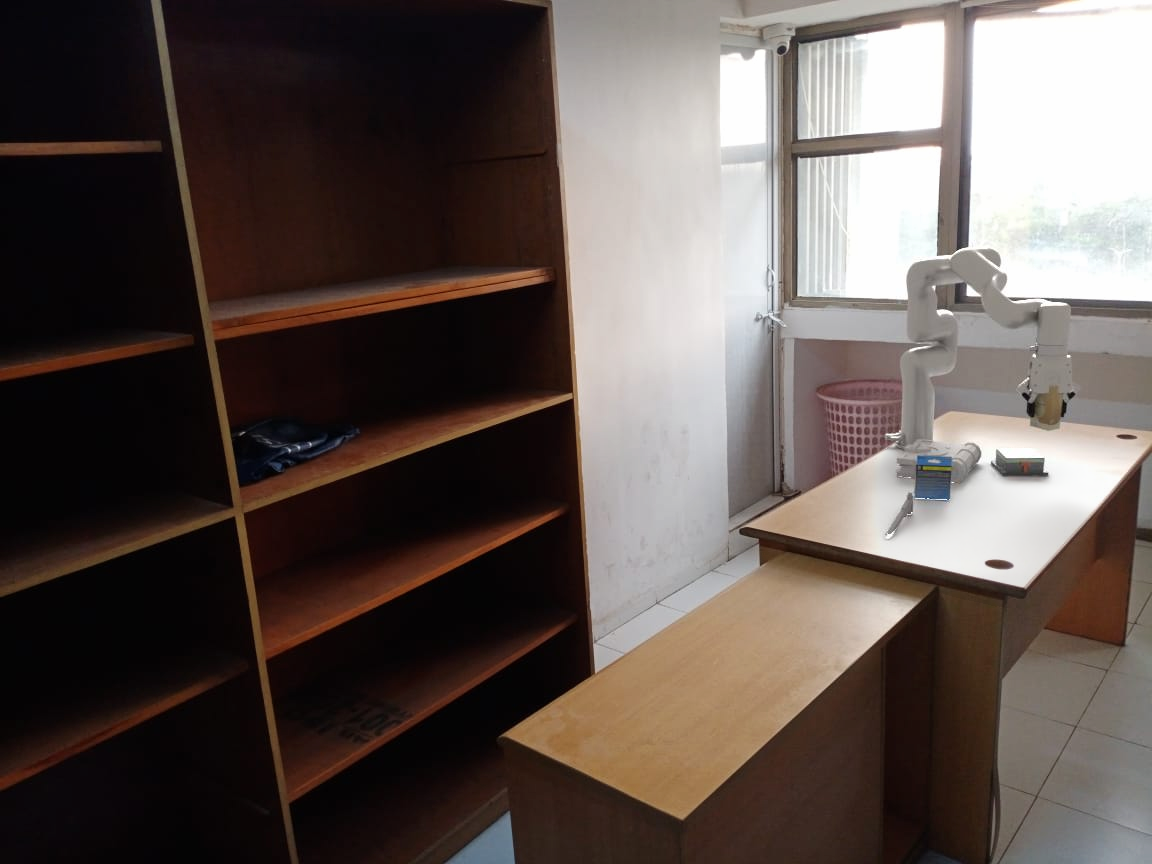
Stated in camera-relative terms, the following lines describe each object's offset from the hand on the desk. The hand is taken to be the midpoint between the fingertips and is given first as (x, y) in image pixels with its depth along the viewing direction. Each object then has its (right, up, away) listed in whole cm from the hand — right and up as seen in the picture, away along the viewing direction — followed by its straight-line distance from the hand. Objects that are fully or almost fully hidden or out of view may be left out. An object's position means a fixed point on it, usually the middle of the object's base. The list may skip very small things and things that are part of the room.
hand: (1045, 415), depth 247 cm
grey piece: (+1, -15, +18) cm, 24 cm away
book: (-19, -15, +24) cm, 34 cm away
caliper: (-46, -28, -20) cm, 57 cm away
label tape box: (-31, -22, -1) cm, 38 cm away
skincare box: (0, -3, +1) cm, 4 cm away
